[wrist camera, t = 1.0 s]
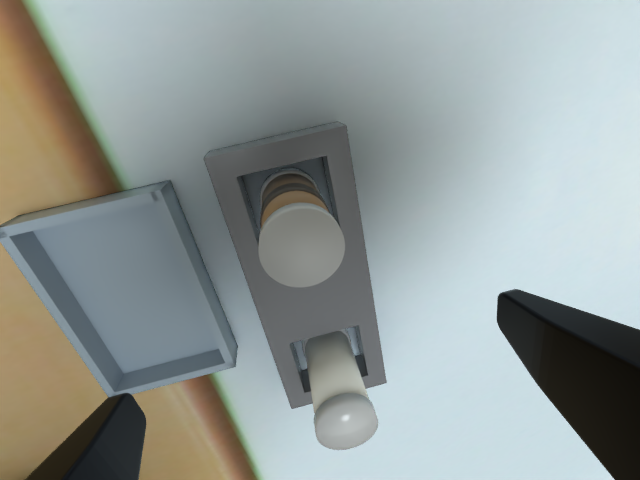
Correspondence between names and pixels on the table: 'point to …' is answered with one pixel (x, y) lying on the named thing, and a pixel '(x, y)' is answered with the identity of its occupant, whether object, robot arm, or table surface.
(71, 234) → the parts tray
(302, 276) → the fuse
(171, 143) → the table surface
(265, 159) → the fuse block
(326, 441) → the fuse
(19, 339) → the table surface
